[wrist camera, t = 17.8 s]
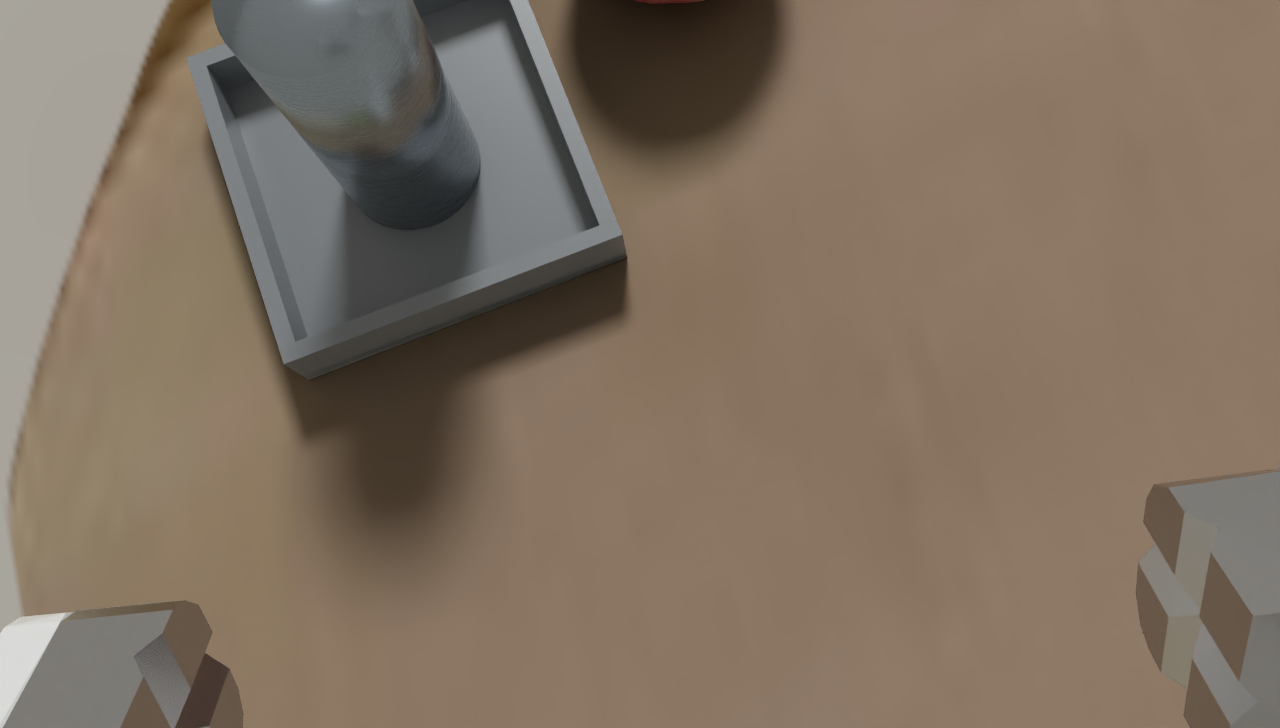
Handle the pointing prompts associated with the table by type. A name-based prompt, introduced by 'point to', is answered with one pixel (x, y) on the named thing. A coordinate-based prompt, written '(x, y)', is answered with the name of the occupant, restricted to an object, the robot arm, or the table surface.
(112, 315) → the table surface
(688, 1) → the fruit
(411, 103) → the canister
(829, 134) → the table surface
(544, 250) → the tray
